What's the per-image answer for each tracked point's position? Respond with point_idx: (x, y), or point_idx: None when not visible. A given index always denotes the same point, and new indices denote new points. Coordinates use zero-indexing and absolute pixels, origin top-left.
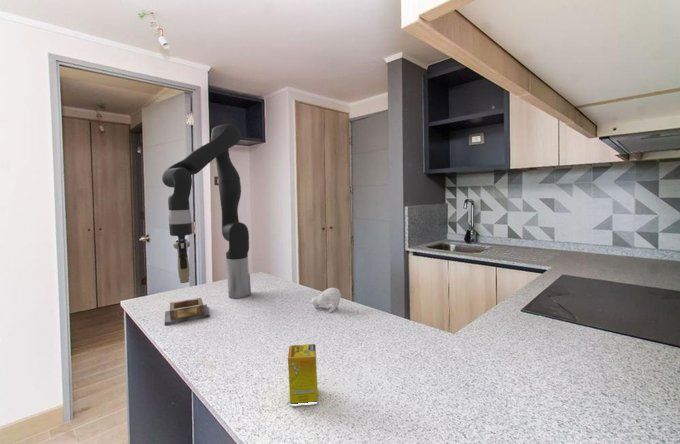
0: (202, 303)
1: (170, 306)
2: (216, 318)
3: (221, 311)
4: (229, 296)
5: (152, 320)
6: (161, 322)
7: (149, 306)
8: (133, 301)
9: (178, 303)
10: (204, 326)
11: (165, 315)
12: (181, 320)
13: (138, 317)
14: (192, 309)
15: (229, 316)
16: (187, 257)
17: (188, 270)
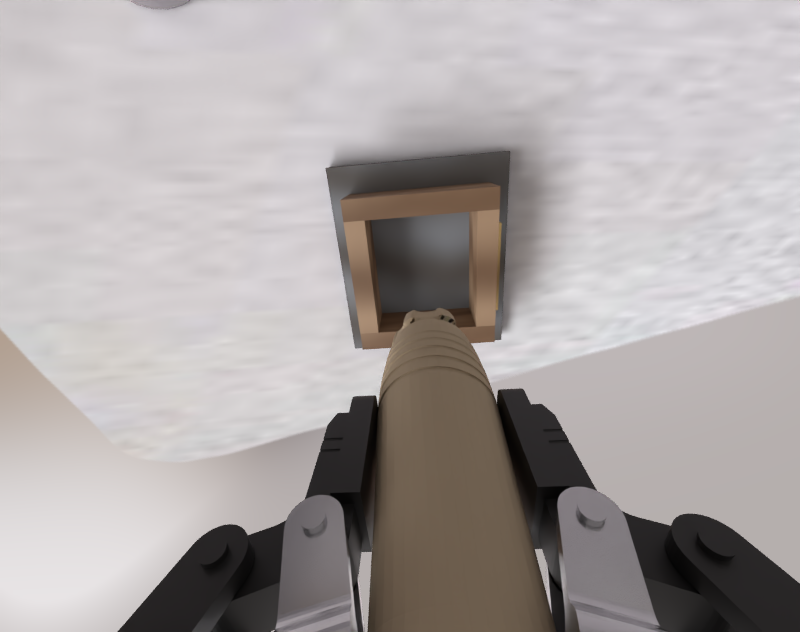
0: (465, 191)
1: None
2: (549, 115)
3: (449, 81)
4: (180, 2)
5: None
6: None
7: (233, 402)
8: (151, 454)
9: (376, 312)
10: (621, 179)
11: None
12: (502, 280)
13: None
14: (500, 243)
15: (564, 32)
16: (483, 480)
17: (460, 354)
